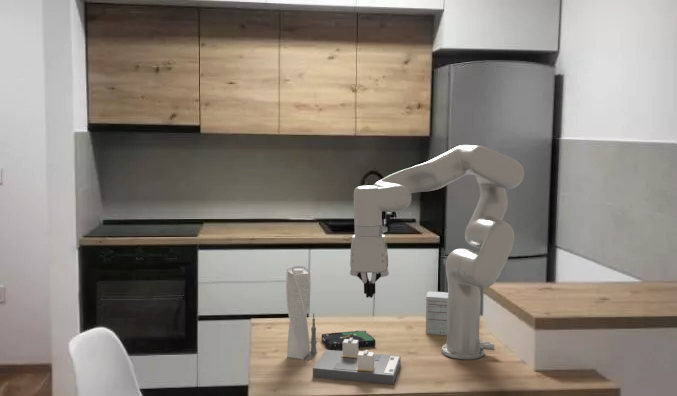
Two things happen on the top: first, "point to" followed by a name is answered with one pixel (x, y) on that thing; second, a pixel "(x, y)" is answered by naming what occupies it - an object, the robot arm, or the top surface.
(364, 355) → the front tab
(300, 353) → the skyscraper
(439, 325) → the supplement box
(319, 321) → the top surface
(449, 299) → the robot arm
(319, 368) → the switch board
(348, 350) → the tab
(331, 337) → the disk drive
